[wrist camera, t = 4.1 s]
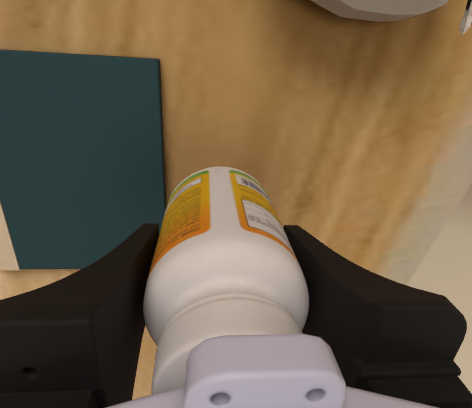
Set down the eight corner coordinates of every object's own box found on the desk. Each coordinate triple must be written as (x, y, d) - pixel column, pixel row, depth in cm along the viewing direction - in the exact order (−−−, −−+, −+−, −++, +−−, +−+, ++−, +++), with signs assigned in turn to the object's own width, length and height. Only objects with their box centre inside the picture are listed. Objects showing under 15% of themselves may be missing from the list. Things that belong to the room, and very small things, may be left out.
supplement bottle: (170, 258, 17) (133, 468, 8) (162, 164, 15) (99, 317, 6) (268, 255, 18) (328, 450, 9) (274, 163, 15) (363, 303, 7)
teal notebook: (168, 262, 25) (167, 269, 25) (-4, 263, 24) (-11, 270, 23) (159, 59, 19) (157, 59, 18) (-74, 45, 18) (-87, 44, 17)
